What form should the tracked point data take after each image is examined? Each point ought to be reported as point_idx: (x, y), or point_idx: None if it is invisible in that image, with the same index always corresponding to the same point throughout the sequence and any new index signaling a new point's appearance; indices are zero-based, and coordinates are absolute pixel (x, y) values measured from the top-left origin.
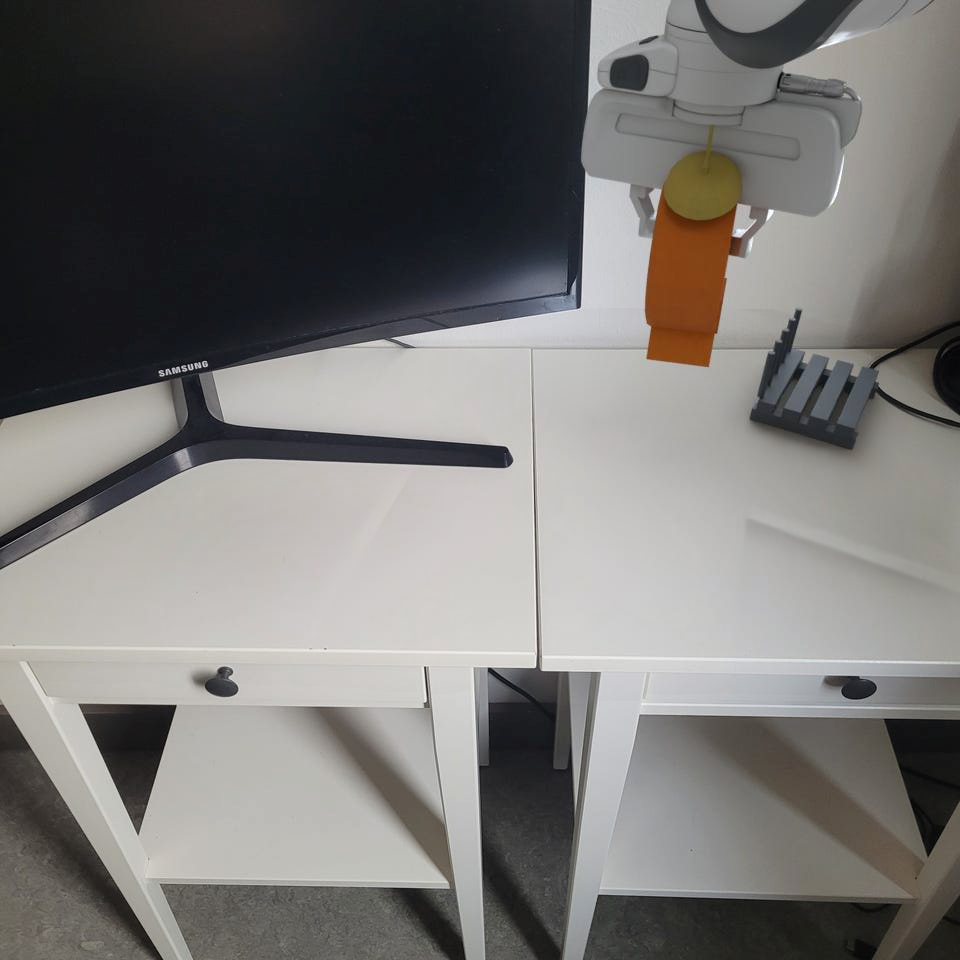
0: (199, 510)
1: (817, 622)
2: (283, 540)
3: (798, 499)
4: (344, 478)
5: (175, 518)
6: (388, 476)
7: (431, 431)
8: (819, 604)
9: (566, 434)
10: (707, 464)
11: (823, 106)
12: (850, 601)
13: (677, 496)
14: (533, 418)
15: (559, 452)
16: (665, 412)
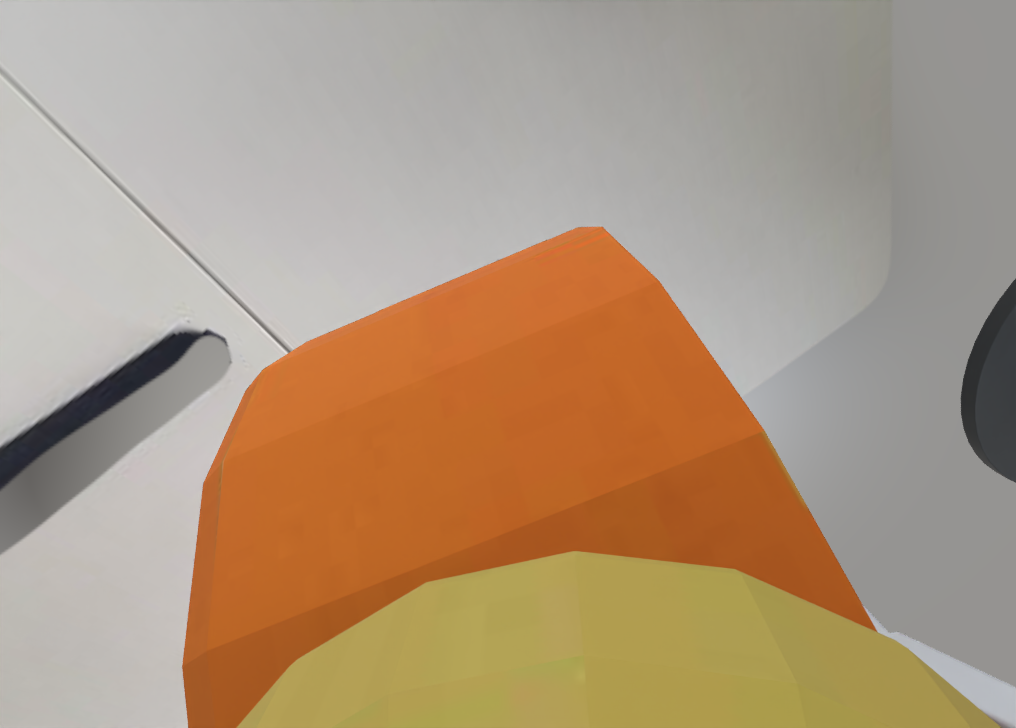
0: (16, 683)
1: (747, 339)
2: (151, 644)
3: (663, 112)
4: (81, 536)
5: (13, 705)
6: (122, 494)
7: (54, 374)
8: (743, 311)
9: (240, 218)
10: (497, 123)
11: None
12: (776, 280)
13: (498, 241)
14: (151, 216)
15: (271, 272)
16: (336, 3)
